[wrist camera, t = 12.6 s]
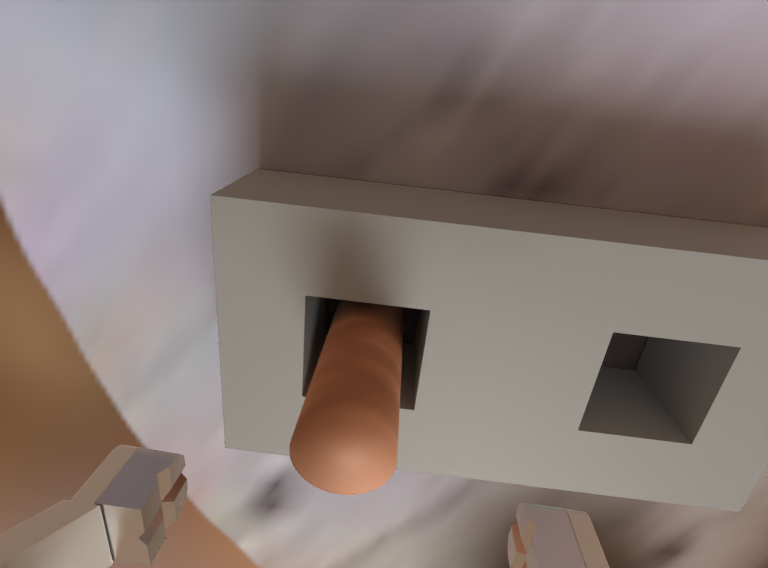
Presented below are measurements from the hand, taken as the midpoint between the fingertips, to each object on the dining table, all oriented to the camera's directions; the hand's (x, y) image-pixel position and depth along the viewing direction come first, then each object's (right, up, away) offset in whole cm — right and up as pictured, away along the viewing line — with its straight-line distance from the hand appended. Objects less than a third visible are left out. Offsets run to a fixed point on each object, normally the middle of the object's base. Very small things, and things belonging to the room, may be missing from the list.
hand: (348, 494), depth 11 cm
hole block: (+6, +4, +11) cm, 13 cm away
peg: (0, +4, +11) cm, 12 cm away
